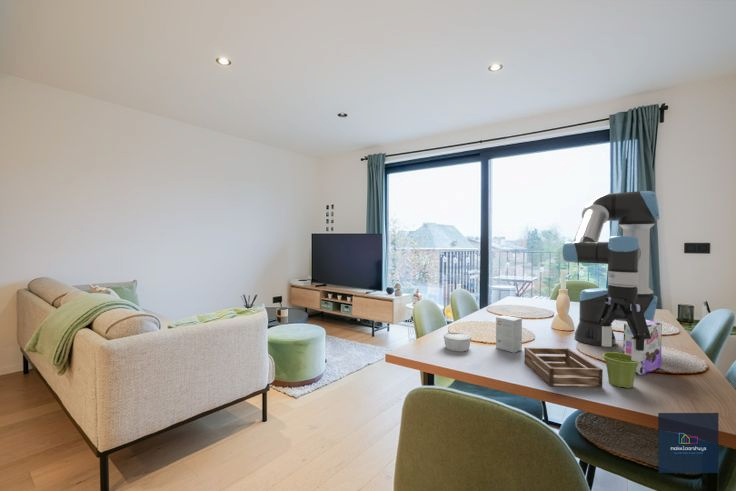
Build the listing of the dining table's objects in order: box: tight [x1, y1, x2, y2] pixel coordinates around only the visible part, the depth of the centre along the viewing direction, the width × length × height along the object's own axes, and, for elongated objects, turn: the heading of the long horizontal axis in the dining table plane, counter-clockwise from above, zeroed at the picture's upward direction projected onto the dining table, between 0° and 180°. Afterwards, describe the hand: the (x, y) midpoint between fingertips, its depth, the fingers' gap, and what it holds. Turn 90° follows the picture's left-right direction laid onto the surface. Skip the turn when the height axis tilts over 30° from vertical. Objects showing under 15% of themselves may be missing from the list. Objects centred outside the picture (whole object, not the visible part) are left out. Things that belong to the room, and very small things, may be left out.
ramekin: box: [443, 332, 472, 353], centre depth 140 cm, size 11×11×5 cm
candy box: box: [622, 320, 663, 376], centre depth 118 cm, size 14×6×16 cm, turn 117°
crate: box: [523, 347, 604, 389], centre depth 113 cm, size 16×20×6 cm
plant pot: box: [602, 351, 640, 389], centre depth 106 cm, size 9×9×9 cm
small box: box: [495, 314, 523, 353], centre depth 139 cm, size 8×6×13 cm
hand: (620, 353), depth 105 cm, fingers open, 13 cm apart
